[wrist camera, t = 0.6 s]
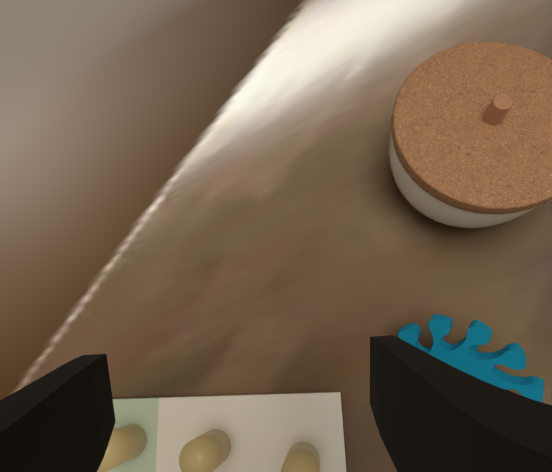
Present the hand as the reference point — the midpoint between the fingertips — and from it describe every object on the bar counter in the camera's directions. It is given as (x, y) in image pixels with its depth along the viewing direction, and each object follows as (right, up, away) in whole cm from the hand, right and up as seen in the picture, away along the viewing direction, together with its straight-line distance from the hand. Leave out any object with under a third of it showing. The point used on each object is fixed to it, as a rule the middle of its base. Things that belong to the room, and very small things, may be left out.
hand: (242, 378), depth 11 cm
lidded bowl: (+16, +9, +25) cm, 31 cm away
